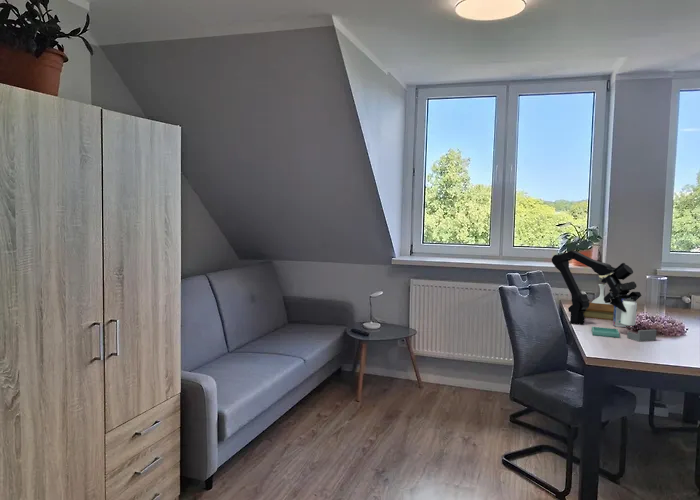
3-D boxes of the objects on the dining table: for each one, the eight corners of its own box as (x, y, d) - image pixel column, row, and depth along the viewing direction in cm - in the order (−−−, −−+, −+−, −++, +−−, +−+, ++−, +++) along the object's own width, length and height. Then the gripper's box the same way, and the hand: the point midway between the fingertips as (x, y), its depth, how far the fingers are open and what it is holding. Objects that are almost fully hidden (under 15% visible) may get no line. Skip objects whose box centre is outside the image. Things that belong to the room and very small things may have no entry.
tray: (592, 335, 260) (592, 331, 260) (591, 330, 271) (591, 326, 271) (619, 338, 256) (619, 334, 256) (617, 332, 267) (617, 329, 266)
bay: (627, 337, 257) (627, 327, 256) (643, 336, 260) (644, 326, 259) (639, 341, 250) (639, 331, 250) (655, 340, 253) (656, 329, 253)
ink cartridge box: (632, 325, 284) (634, 298, 283) (635, 328, 279) (637, 300, 278) (612, 324, 286) (613, 297, 285) (615, 326, 281) (616, 299, 280)
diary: (582, 311, 325) (583, 302, 324) (617, 314, 317) (617, 305, 317) (581, 318, 304) (582, 308, 303) (618, 321, 296) (619, 311, 296)
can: (633, 323, 264) (636, 299, 263) (636, 326, 258) (638, 302, 257) (619, 322, 266) (621, 298, 265) (621, 325, 260) (623, 300, 259)
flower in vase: (587, 304, 345) (589, 266, 343) (602, 304, 348) (605, 265, 346) (601, 308, 332) (603, 268, 330) (617, 308, 335) (619, 268, 333)
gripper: (610, 275, 261) (626, 303, 251) (640, 275, 267) (657, 301, 257) (596, 289, 269) (611, 315, 260) (626, 288, 275) (641, 314, 265)
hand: (630, 311), depth 260 cm, fingers closed on can, 6 cm apart
